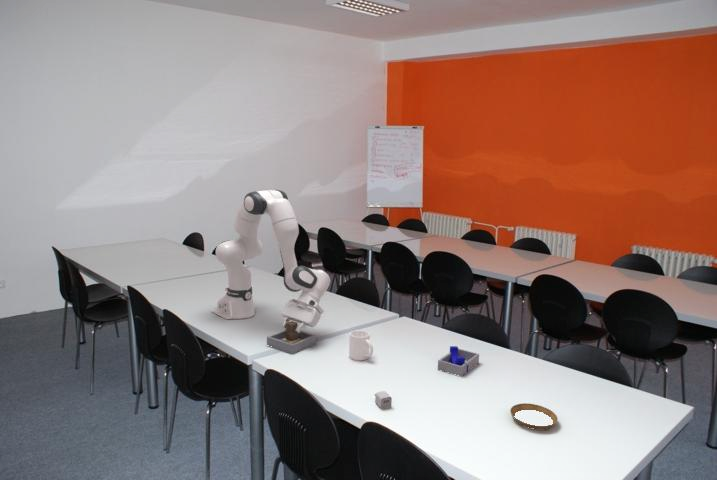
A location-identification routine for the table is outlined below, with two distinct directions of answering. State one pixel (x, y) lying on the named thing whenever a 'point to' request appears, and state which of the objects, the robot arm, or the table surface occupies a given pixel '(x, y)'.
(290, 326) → the oak scraper block
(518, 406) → the brown ring
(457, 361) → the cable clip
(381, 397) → the usb wall charger
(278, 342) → the box
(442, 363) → the desk organiser frame
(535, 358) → the table surface
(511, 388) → the table surface
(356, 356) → the mug
